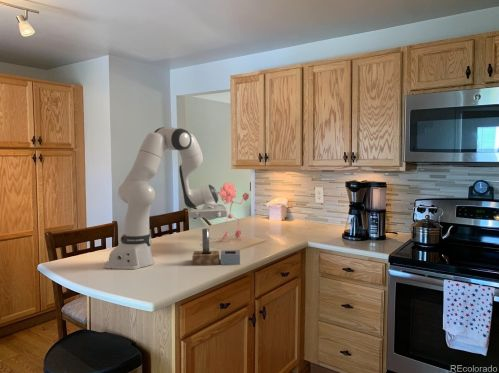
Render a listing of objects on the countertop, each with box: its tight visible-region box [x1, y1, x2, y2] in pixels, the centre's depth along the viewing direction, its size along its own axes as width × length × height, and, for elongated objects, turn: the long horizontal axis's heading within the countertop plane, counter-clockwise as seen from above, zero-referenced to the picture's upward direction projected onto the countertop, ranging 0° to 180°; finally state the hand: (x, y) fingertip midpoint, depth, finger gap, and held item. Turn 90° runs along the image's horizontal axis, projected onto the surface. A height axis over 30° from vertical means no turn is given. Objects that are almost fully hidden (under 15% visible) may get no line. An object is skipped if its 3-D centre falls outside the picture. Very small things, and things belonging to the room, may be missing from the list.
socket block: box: [220, 249, 241, 266], centre depth 183 cm, size 9×9×4 cm
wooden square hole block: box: [192, 250, 220, 266], centre depth 183 cm, size 12×9×4 cm
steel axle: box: [201, 228, 210, 254], centre depth 182 cm, size 3×3×16 cm
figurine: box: [212, 182, 250, 243], centre depth 232 cm, size 15×26×35 cm, turn 130°
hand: (207, 215), depth 193 cm, fingers open, 8 cm apart
